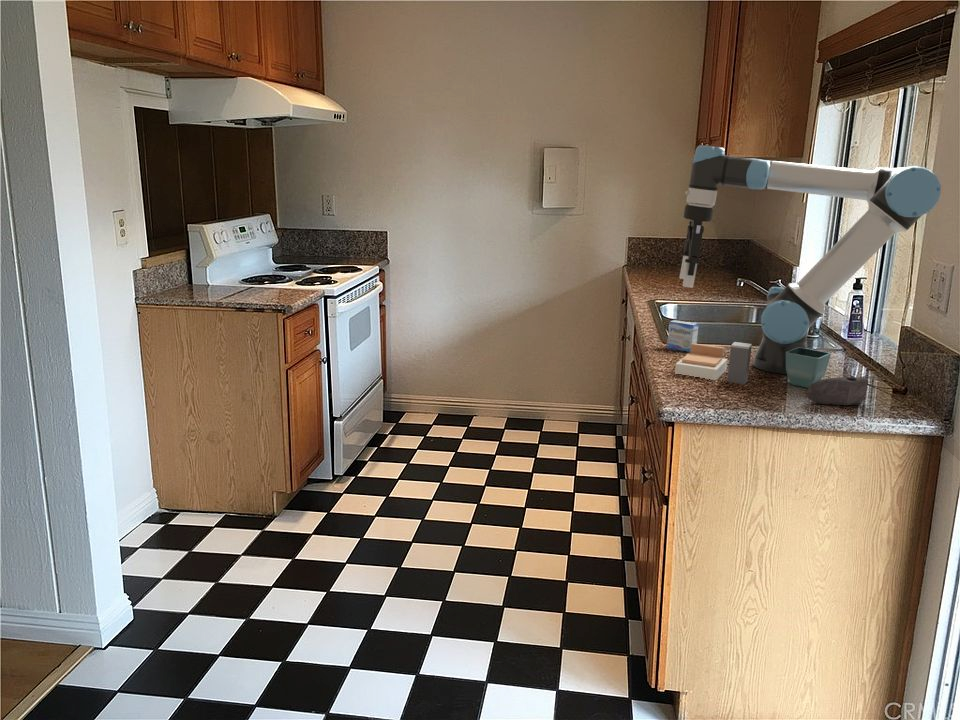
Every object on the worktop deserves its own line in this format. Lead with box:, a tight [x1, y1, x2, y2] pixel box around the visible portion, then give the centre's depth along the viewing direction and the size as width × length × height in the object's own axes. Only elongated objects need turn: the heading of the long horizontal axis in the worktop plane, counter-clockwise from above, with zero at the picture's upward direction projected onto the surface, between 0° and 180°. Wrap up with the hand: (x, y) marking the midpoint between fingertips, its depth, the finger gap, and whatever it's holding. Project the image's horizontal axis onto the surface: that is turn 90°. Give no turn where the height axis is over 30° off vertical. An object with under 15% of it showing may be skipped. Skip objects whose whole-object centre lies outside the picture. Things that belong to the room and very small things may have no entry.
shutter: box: [681, 343, 726, 367], centre depth 221 cm, size 9×10×3 cm
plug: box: [726, 341, 752, 385], centre depth 212 cm, size 4×4×10 cm
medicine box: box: [666, 319, 700, 353], centre depth 247 cm, size 8×4×9 cm, turn 55°
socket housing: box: [674, 353, 729, 381], centre depth 221 cm, size 11×14×3 cm
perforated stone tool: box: [806, 376, 869, 406], centre depth 195 cm, size 15×5×7 cm, turn 88°
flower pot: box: [786, 347, 832, 389], centre depth 211 cm, size 9×9×9 cm
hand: (685, 283), depth 221 cm, fingers open, 13 cm apart
